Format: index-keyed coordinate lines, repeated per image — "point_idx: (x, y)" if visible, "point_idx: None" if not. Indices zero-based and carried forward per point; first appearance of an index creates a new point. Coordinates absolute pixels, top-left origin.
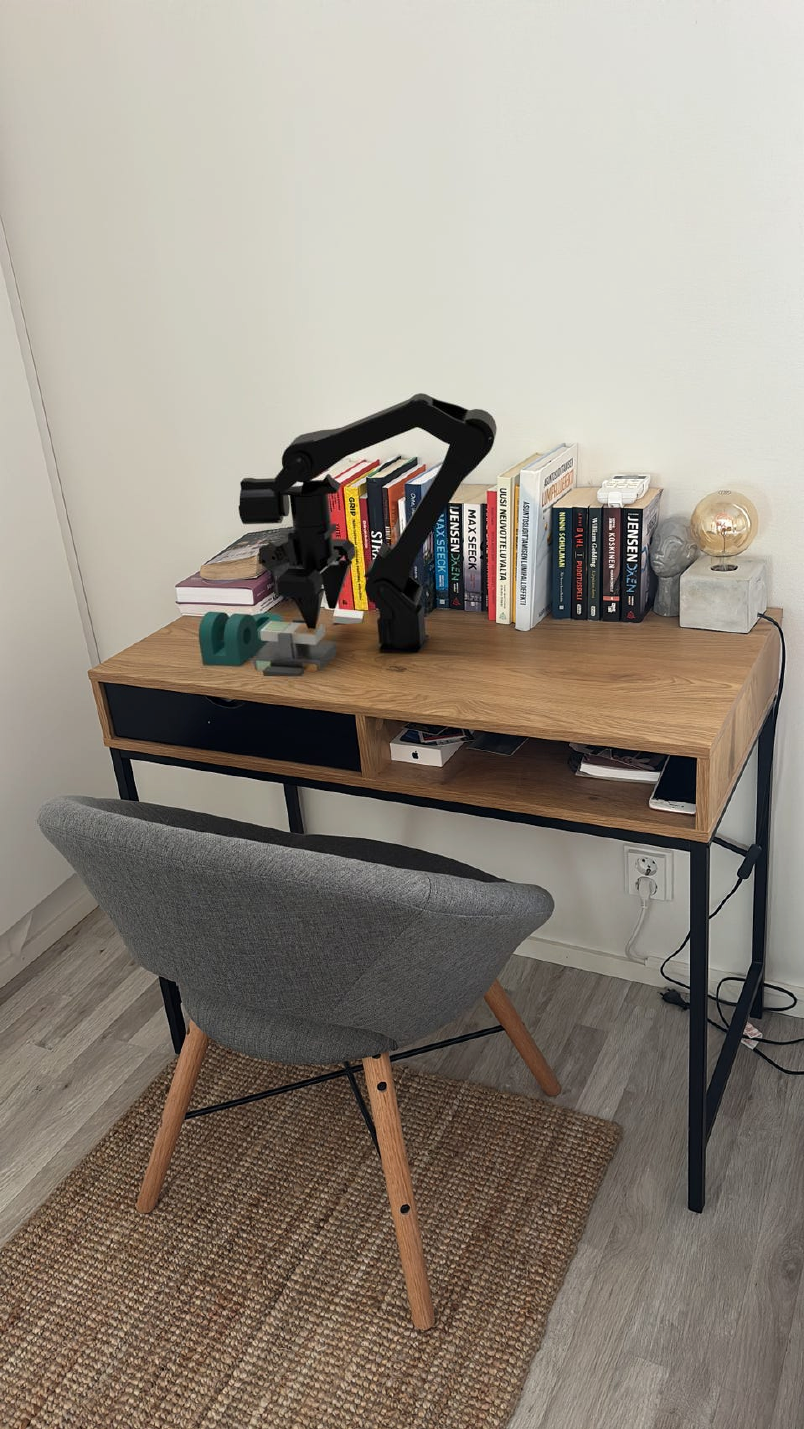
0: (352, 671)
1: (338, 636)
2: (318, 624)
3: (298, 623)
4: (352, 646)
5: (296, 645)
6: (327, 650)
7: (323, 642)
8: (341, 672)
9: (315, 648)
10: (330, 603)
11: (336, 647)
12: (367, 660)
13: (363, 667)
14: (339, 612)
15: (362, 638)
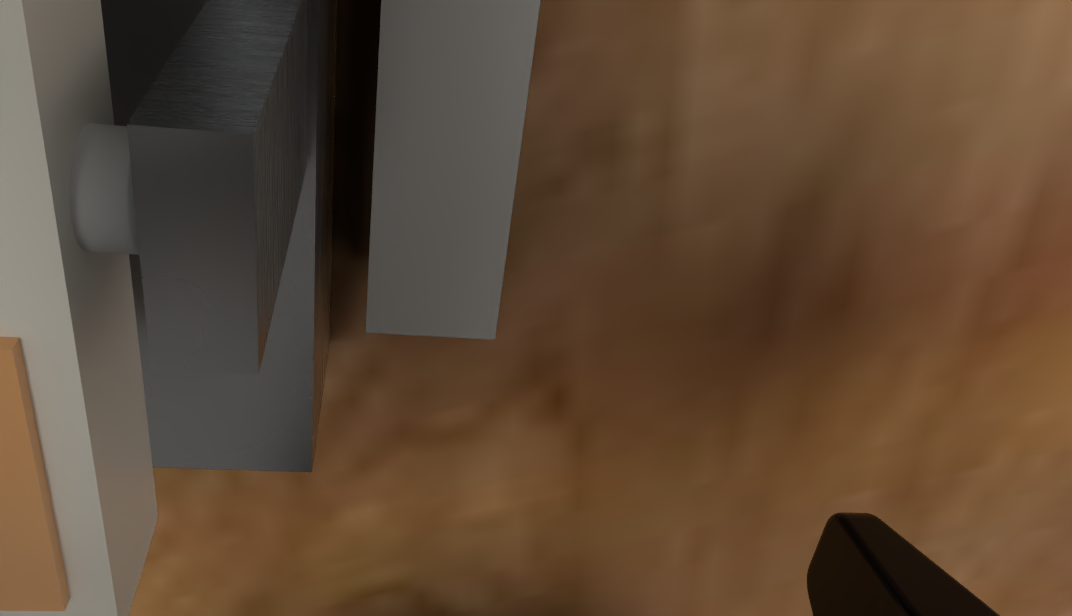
0: None
1: (915, 204)
2: (105, 574)
3: (32, 273)
4: (650, 382)
5: (104, 31)
6: None
7: (284, 353)
8: None
9: None
10: (853, 606)
11: (317, 429)
12: (355, 549)
13: (213, 556)
14: None
15: (823, 414)
